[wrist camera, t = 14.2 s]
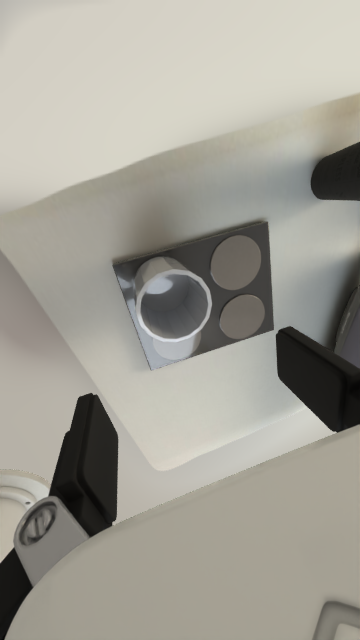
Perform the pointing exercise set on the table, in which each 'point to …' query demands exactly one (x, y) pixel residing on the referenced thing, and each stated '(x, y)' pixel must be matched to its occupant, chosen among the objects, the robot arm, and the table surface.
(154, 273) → the pot
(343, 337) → the bluetooth speaker
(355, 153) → the drinking cup
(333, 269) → the table surface
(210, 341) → the hob
